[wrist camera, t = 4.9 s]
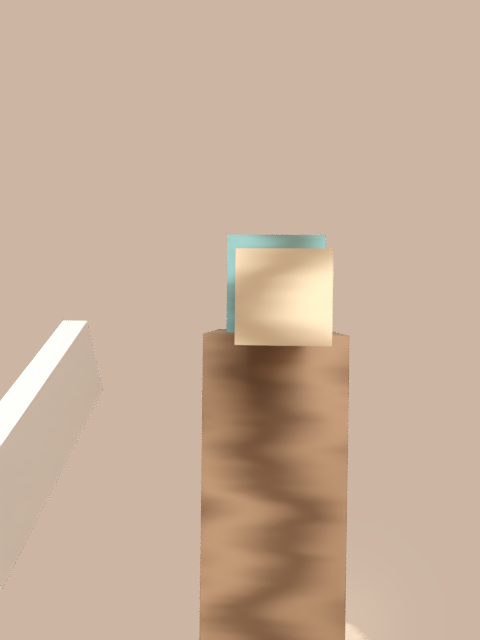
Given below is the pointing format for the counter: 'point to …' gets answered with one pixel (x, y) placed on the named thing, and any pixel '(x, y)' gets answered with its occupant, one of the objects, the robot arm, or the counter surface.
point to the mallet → (280, 290)
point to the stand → (273, 490)
